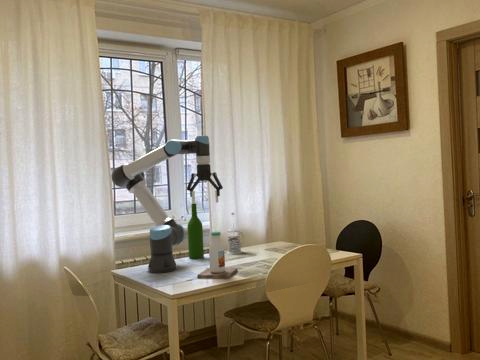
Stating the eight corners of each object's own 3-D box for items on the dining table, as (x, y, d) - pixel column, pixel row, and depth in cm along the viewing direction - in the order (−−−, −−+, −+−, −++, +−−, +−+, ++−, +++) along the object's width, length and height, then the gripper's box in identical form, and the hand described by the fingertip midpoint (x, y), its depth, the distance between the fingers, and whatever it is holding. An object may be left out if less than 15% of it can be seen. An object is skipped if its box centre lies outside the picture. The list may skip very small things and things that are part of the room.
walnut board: (197, 278, 240) (197, 275, 240) (208, 270, 255) (208, 267, 255) (228, 278, 235) (228, 275, 235) (237, 271, 251) (237, 268, 251)
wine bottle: (205, 255, 296) (202, 202, 295) (201, 258, 287) (199, 204, 286) (191, 256, 297) (188, 203, 296) (187, 259, 289) (184, 204, 287)
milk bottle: (213, 274, 240) (211, 233, 239) (207, 271, 247) (205, 232, 246) (227, 271, 243) (226, 232, 243) (221, 269, 250) (219, 230, 250)
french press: (224, 252, 305) (222, 212, 304) (240, 250, 310) (239, 211, 309) (230, 254, 296) (228, 213, 295) (247, 252, 301) (245, 212, 300)
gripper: (179, 165, 265) (181, 203, 266) (223, 163, 259) (225, 202, 259) (184, 164, 272) (186, 202, 273) (227, 162, 266) (229, 201, 267)
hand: (205, 202), depth 266 cm, fingers open, 13 cm apart
